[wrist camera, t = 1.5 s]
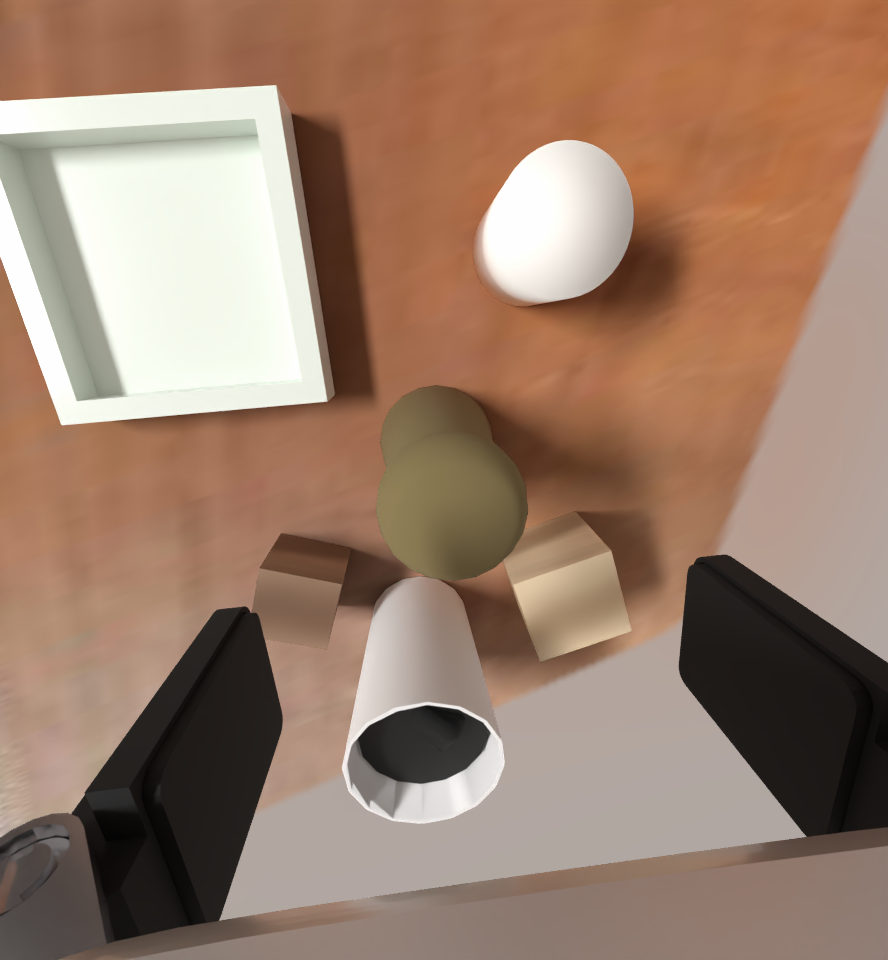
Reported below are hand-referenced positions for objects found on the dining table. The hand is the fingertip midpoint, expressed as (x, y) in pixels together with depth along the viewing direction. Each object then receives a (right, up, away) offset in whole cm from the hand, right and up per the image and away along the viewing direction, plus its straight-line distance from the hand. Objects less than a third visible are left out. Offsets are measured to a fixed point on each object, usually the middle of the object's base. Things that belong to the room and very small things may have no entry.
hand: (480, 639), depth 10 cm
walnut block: (-9, -2, +17) cm, 19 cm away
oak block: (+5, -1, +18) cm, 18 cm away
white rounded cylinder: (+3, +14, +12) cm, 19 cm away
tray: (-13, +13, +11) cm, 21 cm away
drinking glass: (-2, -5, +18) cm, 19 cm away
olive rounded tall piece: (-1, +6, +15) cm, 16 cm away
